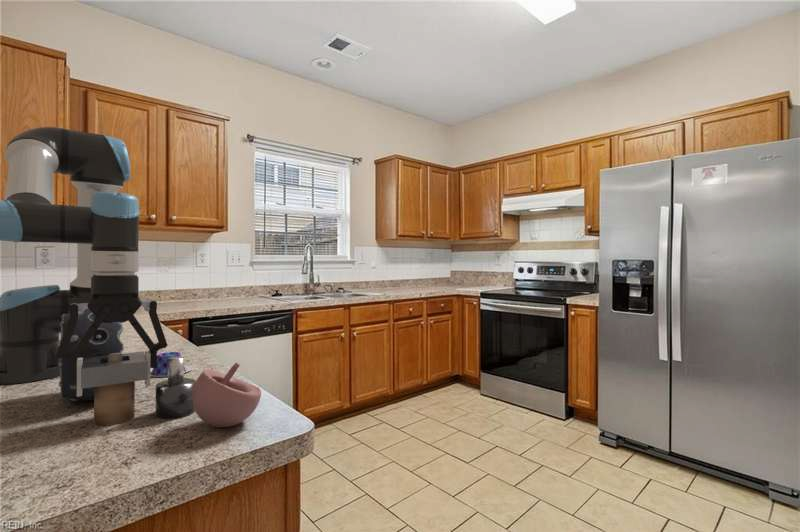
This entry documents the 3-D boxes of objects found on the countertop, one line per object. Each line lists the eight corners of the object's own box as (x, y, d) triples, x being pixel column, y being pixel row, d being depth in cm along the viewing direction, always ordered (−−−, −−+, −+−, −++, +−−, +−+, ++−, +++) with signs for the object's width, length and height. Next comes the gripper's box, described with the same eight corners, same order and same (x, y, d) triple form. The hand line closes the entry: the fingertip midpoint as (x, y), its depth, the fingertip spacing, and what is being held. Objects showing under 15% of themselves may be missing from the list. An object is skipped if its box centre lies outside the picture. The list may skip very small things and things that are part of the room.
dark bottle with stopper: (153, 411, 83) (153, 357, 83) (191, 404, 87) (192, 352, 87) (157, 422, 77) (157, 364, 77) (198, 414, 82) (198, 359, 81)
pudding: (138, 372, 112) (138, 353, 112) (185, 365, 121) (185, 347, 121) (148, 382, 104) (149, 361, 104) (199, 373, 112) (199, 354, 112)
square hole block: (82, 375, 80) (83, 357, 80) (143, 368, 86) (143, 351, 86) (81, 388, 72) (81, 368, 72) (147, 379, 78) (147, 361, 78)
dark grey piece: (57, 417, 79) (57, 314, 79) (63, 390, 95) (64, 305, 95) (124, 406, 86) (124, 311, 85) (119, 382, 102) (120, 302, 101)
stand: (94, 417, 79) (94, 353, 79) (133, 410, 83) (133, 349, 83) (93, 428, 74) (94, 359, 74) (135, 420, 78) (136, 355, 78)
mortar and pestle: (268, 429, 75) (268, 367, 75) (195, 444, 69) (195, 376, 68) (253, 408, 85) (253, 354, 85) (188, 420, 79) (189, 360, 79)
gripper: (34, 275, 69) (34, 406, 69) (184, 274, 82) (183, 384, 82) (39, 273, 75) (39, 394, 75) (178, 273, 88) (178, 375, 88)
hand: (114, 389), depth 79 cm, fingers closed on square hole block, 10 cm apart
